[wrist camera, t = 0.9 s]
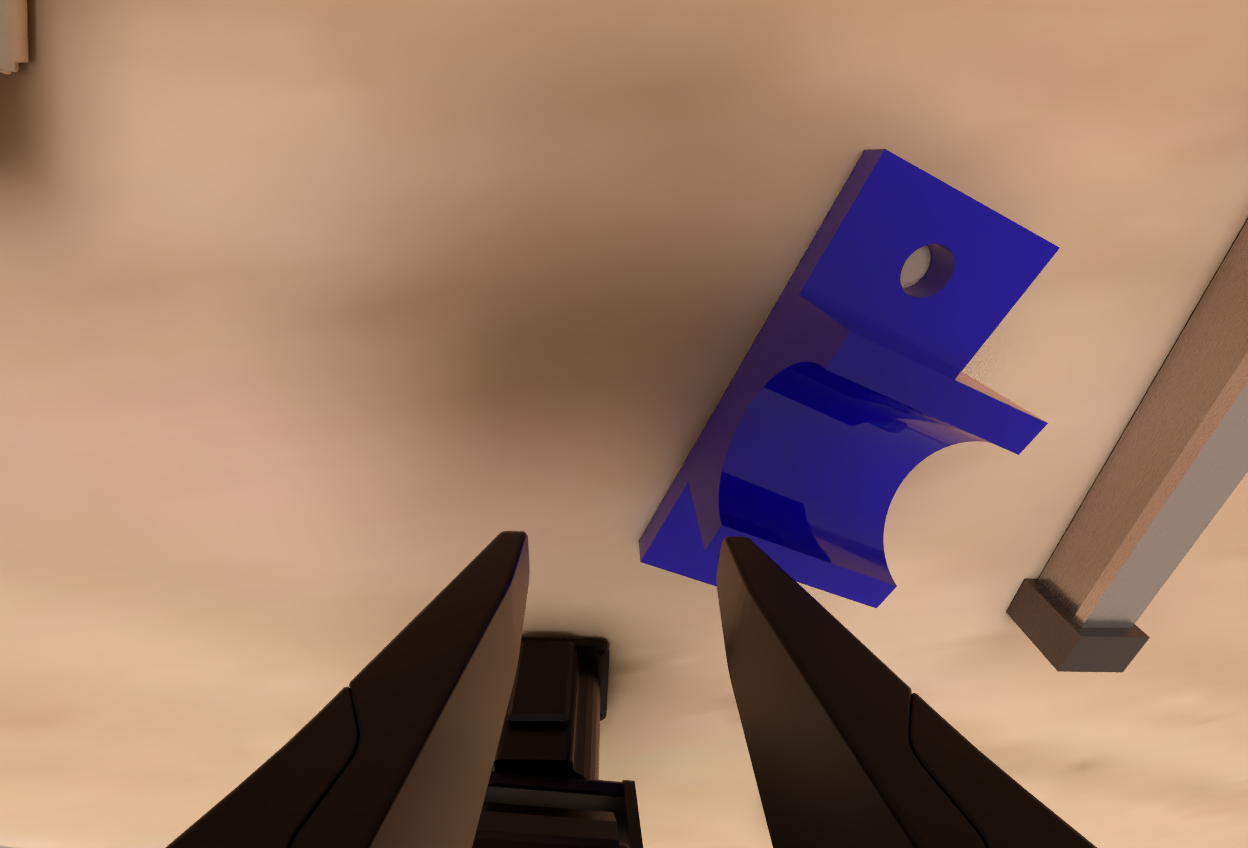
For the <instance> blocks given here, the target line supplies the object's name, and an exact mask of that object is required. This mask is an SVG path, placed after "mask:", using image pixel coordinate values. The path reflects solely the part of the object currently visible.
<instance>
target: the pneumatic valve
mask: <svg viewBox="0 0 1248 848" xmlns="http://www.w3.org/2000/svg"><path fill="white" fill-rule="evenodd" d="M21 62H24V63H27V62H29V61H28V17H27V0H0V72H1V73H4V74H11V72H18V70H19V68H18V63H21Z"/></svg>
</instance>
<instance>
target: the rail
mask: <svg viewBox="0 0 1248 848" xmlns="http://www.w3.org/2000/svg"><path fill="white" fill-rule="evenodd" d="M1247 472H1248V220H1247V222H1246V224H1245V225H1244V227H1243V229H1242V230H1241V232H1240V234H1239V236H1238V237H1237V239H1236V241H1235V242H1234V244H1233V246H1232V248H1231V249H1230V251H1229V253H1228V254H1227V256H1226V258H1225V260H1224V261H1223V263H1222V265H1221V266H1220V268H1219V270H1218V272H1217V273H1216V275H1215V277H1214V278H1213V280H1212V282H1211V284H1210V285H1209V287H1208V289H1207V290H1206V292H1205V294H1204V296H1203V297H1202V299H1201V301H1200V303H1199V304H1198V306H1197V308H1196V309H1195V311H1194V313H1193V315H1192V316H1191V318H1190V320H1189V321H1188V323H1187V325H1186V327H1185V328H1184V330H1183V332H1182V333H1181V335H1180V337H1179V339H1178V340H1177V342H1176V344H1175V345H1174V347H1173V349H1172V351H1171V352H1170V354H1169V356H1168V357H1167V359H1166V361H1165V363H1164V364H1163V366H1162V368H1161V369H1160V371H1159V373H1158V375H1157V376H1156V378H1155V380H1154V382H1153V383H1152V385H1151V387H1150V388H1149V390H1148V392H1147V394H1146V395H1145V397H1144V399H1143V400H1142V402H1141V404H1140V406H1139V407H1138V409H1137V411H1136V412H1135V414H1134V416H1133V418H1132V419H1131V421H1130V423H1129V424H1128V426H1127V428H1126V430H1125V431H1124V433H1123V435H1122V436H1121V438H1120V440H1119V442H1118V443H1117V445H1116V447H1115V448H1114V450H1113V452H1112V454H1111V455H1110V457H1109V459H1108V461H1107V462H1106V464H1105V466H1104V467H1103V469H1102V471H1101V473H1100V474H1099V476H1098V478H1097V479H1096V481H1095V483H1094V485H1093V486H1092V488H1091V490H1090V491H1089V493H1088V495H1087V497H1086V498H1085V500H1084V502H1083V503H1082V505H1081V507H1080V509H1079V510H1078V512H1077V514H1076V515H1075V517H1074V519H1073V521H1072V522H1071V524H1070V526H1069V527H1068V529H1067V531H1066V533H1065V534H1064V536H1063V538H1062V540H1061V541H1060V543H1059V545H1058V546H1057V548H1056V550H1055V552H1054V553H1053V555H1052V557H1051V558H1050V560H1049V562H1048V564H1047V565H1046V567H1045V569H1044V570H1043V572H1042V574H1041V576H1040V577H1039V579H1025V580H1024V582H1023V584H1022V586H1021V587H1020V589H1019V591H1018V593H1017V594H1016V596H1015V598H1014V600H1013V601H1012V603H1011V605H1010V607H1009V608H1008V610H1007V612H1006V613H1007V614H1008V615H1009V616H1010V617H1011V618H1012V619H1013V621H1014V622H1015V623H1016V624H1017V625H1018V626H1019V627H1020V629H1021V630H1022V631H1023V632H1024V633H1025V634H1026V635H1027V637H1028V638H1029V639H1030V640H1031V641H1032V642H1033V643H1034V645H1035V646H1036V647H1037V648H1038V649H1039V650H1040V651H1041V653H1042V654H1043V655H1044V656H1045V657H1046V658H1047V659H1048V661H1049V662H1050V663H1051V664H1052V665H1053V666H1054V667H1055V669H1056V670H1057V671H1071V672H1123V671H1124V670H1125V669H1126V667H1127V666H1128V665H1129V663H1130V662H1131V661H1132V660H1133V658H1134V657H1135V656H1136V654H1137V653H1138V652H1139V651H1140V649H1141V648H1142V647H1143V645H1144V644H1145V643H1146V642H1147V640H1148V639H1149V638H1150V637H1148V636H1147V635H1146V634H1145V633H1144V632H1143V631H1142V630H1141V629H1139V628H1138V627H1137V626H1136V625H1135V622H1136V621H1137V620H1138V618H1139V617H1140V616H1141V614H1142V613H1143V612H1144V610H1145V609H1146V608H1147V606H1148V605H1149V604H1150V602H1151V601H1152V599H1153V598H1154V597H1155V595H1156V594H1157V593H1158V591H1159V590H1160V589H1161V587H1162V586H1163V585H1164V583H1165V582H1166V581H1167V579H1168V578H1169V577H1170V575H1171V574H1172V573H1173V571H1174V570H1175V569H1176V567H1177V566H1178V565H1179V563H1180V562H1181V560H1182V559H1183V558H1184V556H1185V555H1186V554H1187V552H1188V551H1189V550H1190V548H1191V547H1192V546H1193V544H1194V543H1195V542H1196V540H1197V539H1198V538H1199V536H1200V535H1201V534H1202V532H1203V531H1204V530H1205V528H1206V527H1207V526H1208V524H1209V523H1210V522H1211V520H1212V519H1213V517H1214V516H1215V515H1216V513H1217V512H1218V511H1219V509H1220V508H1221V507H1222V505H1223V504H1224V503H1225V501H1226V500H1227V499H1228V497H1229V496H1230V495H1231V493H1232V492H1233V491H1234V489H1235V488H1236V487H1237V485H1238V484H1239V483H1240V481H1241V480H1242V478H1243V477H1244V476H1245V474H1246V473H1247Z"/></svg>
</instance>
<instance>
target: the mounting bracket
mask: <svg viewBox="0 0 1248 848" xmlns="http://www.w3.org/2000/svg"><path fill="white" fill-rule="evenodd" d="M925 245H928V247H929V249H930V252H931V262H930V266H929V268H928V270H927V272H926V274H925V275H924V276H923V277H922V279H921V280H919V281H918V282H917V283H916V284H914V285H912V286H910V287H908V288H904V289H903V288H902V286H901V283H900V274H901V270H902V267H903V265H904V263H905V261H906V260H907V258H908V257H909V256H910V255H911V254H912V253H913V252H914V251H916V250H917V249H919V248H920V247H922V246H925ZM1058 249H1059V247H1057V246H1056V245H1054V244H1052V243H1050V242H1049V241H1047V240H1045V239H1043V238H1041V237H1040V236H1038V235H1036V234H1034V233H1033V232H1031V231H1029V230H1027V229H1026V228H1024V227H1022V226H1020V225H1018V224H1017V223H1015V222H1013V221H1011V220H1010V219H1008V218H1006V217H1004V216H1003V215H1001V214H999V213H997V212H995V211H994V210H992V209H990V208H988V207H987V206H985V205H983V204H981V203H980V202H978V201H976V200H974V199H972V198H971V197H969V196H967V195H965V194H964V193H962V192H960V191H958V190H956V189H955V188H953V187H951V186H949V185H948V184H946V183H944V182H942V181H941V180H939V179H937V178H935V177H933V176H932V175H930V174H928V173H926V172H925V171H923V170H921V169H919V168H918V167H916V166H914V165H912V164H910V163H909V162H907V161H905V160H903V159H902V158H900V157H898V156H896V155H894V154H893V153H891V152H889V151H887V150H886V149H878V150H864V152H863V153H862V155H861V157H860V159H859V160H858V162H857V164H856V166H855V167H854V169H853V171H852V173H851V174H850V176H849V178H848V180H847V181H846V183H845V185H844V186H843V188H842V190H841V192H840V193H839V195H838V197H837V199H836V200H835V202H834V204H833V206H832V207H831V209H830V211H829V212H828V214H827V216H826V218H825V219H824V221H823V223H822V225H821V226H820V228H819V230H818V232H817V233H816V235H815V237H814V239H813V240H812V242H811V244H810V245H809V247H808V249H807V251H806V252H805V254H804V256H803V258H802V259H801V261H800V263H799V265H798V266H797V268H796V270H795V271H794V273H793V275H792V277H791V278H790V280H789V282H788V284H787V285H786V287H785V289H784V291H783V292H782V294H781V296H780V298H779V299H778V301H777V303H776V304H775V306H774V308H773V310H772V311H771V313H770V315H769V317H768V318H767V320H766V322H765V324H764V325H763V327H762V329H761V330H760V332H759V334H758V336H757V337H756V339H755V341H754V343H753V344H752V346H751V348H750V350H749V351H748V353H747V355H746V357H745V358H744V360H743V362H742V363H741V365H740V367H739V369H738V370H737V372H736V374H735V376H734V377H733V379H732V381H731V383H730V384H729V386H728V388H727V389H726V391H725V393H724V395H723V396H722V398H721V400H720V402H719V403H718V405H717V407H716V409H715V410H714V412H713V414H712V416H711V417H710V419H709V421H708V422H707V424H706V426H705V428H704V429H703V431H702V433H701V435H700V436H699V438H698V440H697V442H696V443H695V445H694V447H693V448H692V450H691V452H690V454H689V455H688V457H687V459H686V461H685V462H684V464H683V466H682V468H681V469H680V471H679V473H678V475H677V476H676V478H675V480H674V481H673V483H672V485H671V487H670V488H669V490H668V492H667V494H666V495H665V497H664V499H663V501H662V502H661V504H660V506H659V507H658V509H657V511H656V513H655V514H654V516H653V518H652V520H651V521H650V523H649V525H648V527H647V528H646V530H645V532H644V534H643V535H642V537H641V539H640V540H639V548H640V562H642V563H645V564H649V565H652V566H655V567H658V568H661V569H664V570H667V571H670V572H674V573H677V574H680V575H683V576H686V577H689V578H692V579H695V580H699V581H702V582H705V583H708V584H711V585H714V586H717V581H716V576H717V568H718V562H719V557H720V551H721V546H722V542H723V539H724V538H725V537H727V536H736V537H748V538H749V539H751V540H752V541H753V542H754V543H755V544H756V545H757V546H758V547H759V548H761V549H762V550H763V551H764V552H765V553H766V554H767V555H768V556H769V557H770V558H771V559H772V560H773V561H774V562H776V563H777V564H778V565H779V566H780V567H781V568H782V569H783V570H784V571H785V572H786V573H787V574H788V575H789V576H791V577H792V578H793V579H794V580H795V581H797V582H800V583H803V584H806V585H809V586H812V587H815V588H818V589H821V590H824V591H827V592H830V593H832V594H835V595H838V596H841V597H844V598H847V599H850V600H853V601H856V602H859V603H862V604H865V605H868V606H871V607H874V608H877V607H878V606H879V605H880V604H881V603H882V602H883V601H884V600H885V598H886V597H887V596H888V595H889V594H890V593H891V592H892V591H893V590H894V589H895V588H896V587H897V586H896V584H895V582H894V581H893V579H892V577H891V574H890V572H889V569H888V567H887V563H886V559H885V554H884V545H883V533H884V524H885V519H886V515H887V512H888V508H889V506H890V503H891V500H892V498H893V496H894V494H895V492H896V491H897V489H898V487H899V485H900V484H901V483H902V481H903V480H904V478H905V477H906V476H907V475H908V474H909V472H910V471H911V470H912V469H913V468H914V467H915V466H916V465H918V464H919V463H920V462H921V461H922V460H924V459H925V458H926V457H928V456H929V455H931V454H933V453H934V452H936V451H938V450H940V449H942V448H945V447H947V446H950V445H953V444H957V443H962V442H969V441H982V442H989V443H993V444H995V445H998V446H1000V447H1002V448H1004V449H1007V450H1009V451H1011V452H1014V453H1016V454H1018V455H1019V454H1020V453H1021V452H1022V451H1023V450H1024V449H1025V447H1026V446H1027V445H1028V444H1029V443H1030V442H1031V441H1032V440H1033V439H1034V438H1035V437H1036V436H1037V434H1038V433H1039V432H1040V431H1041V430H1042V429H1043V428H1044V427H1045V426H1046V425H1047V424H1048V423H1047V422H1045V421H1043V420H1042V419H1040V418H1038V417H1037V416H1035V415H1033V414H1032V413H1030V412H1028V411H1027V410H1025V409H1023V408H1022V407H1020V406H1018V405H1017V404H1015V403H1014V402H1012V401H1010V400H1009V399H1007V398H1005V397H1004V396H1002V395H1000V394H999V393H997V392H995V391H994V390H992V389H990V388H989V387H987V386H985V385H984V384H982V383H980V382H979V381H977V380H975V379H974V378H972V377H970V376H969V375H967V374H965V373H964V372H962V370H963V369H964V367H965V366H966V365H967V364H968V362H969V361H970V360H971V359H972V357H973V356H974V355H975V354H976V352H977V351H978V350H979V349H980V347H981V346H982V345H983V344H984V342H985V341H986V340H987V339H988V337H989V336H990V335H991V334H992V332H993V331H994V330H995V329H996V327H997V326H998V325H999V323H1000V322H1001V321H1002V320H1003V318H1004V317H1005V316H1006V315H1007V313H1008V312H1009V311H1010V310H1011V308H1012V307H1013V306H1014V305H1015V303H1016V302H1017V301H1018V300H1019V298H1020V297H1021V296H1022V295H1023V293H1024V292H1025V291H1026V290H1027V288H1028V287H1029V286H1030V285H1031V283H1032V282H1033V281H1034V280H1035V278H1036V277H1037V276H1038V274H1039V273H1040V272H1041V271H1042V269H1043V268H1044V267H1045V266H1046V264H1047V263H1048V262H1049V261H1050V259H1051V258H1052V257H1053V256H1054V254H1055V253H1056V252H1057V251H1058Z"/></svg>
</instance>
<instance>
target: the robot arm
mask: <svg viewBox="0 0 1248 848" xmlns="http://www.w3.org/2000/svg"><path fill="white" fill-rule="evenodd" d="M716 581H717V591H718V598H719V606H720V613H721V620H722V628H723V635H724V642H725V650H726V657H727V663H728V669H729V674H730V679H731V683H732V687H733V691H734V695H735V699H736V703H737V707H738V711H739V715H740V719H741V723H742V727H743V731H744V735H745V739H746V743H747V747H748V750H749V754H750V758H751V762H752V766H753V770H754V774H755V778H756V782H757V786H758V790H759V794H760V798H761V802H762V806H763V810H764V814H765V818H766V821H767V825H768V829H769V833H770V837H771V841H772V845H773V848H1097V847H1096V846H1094V845H1093V844H1092V843H1091V842H1089V841H1088V840H1087V839H1086V838H1084V837H1083V836H1082V835H1081V834H1080V833H1078V832H1077V831H1076V830H1075V829H1073V828H1072V827H1071V826H1070V825H1069V824H1067V823H1066V822H1065V821H1064V820H1062V819H1061V818H1060V817H1059V816H1057V815H1056V814H1055V813H1054V812H1053V811H1051V810H1050V809H1049V808H1048V807H1046V806H1045V805H1044V804H1043V803H1042V802H1040V801H1039V800H1038V799H1037V798H1035V797H1034V796H1033V795H1032V794H1030V793H1029V792H1028V791H1027V790H1026V789H1024V788H1023V787H1022V786H1021V785H1020V784H1018V783H1017V782H1016V781H1015V780H1014V779H1012V778H1011V777H1010V776H1009V775H1008V774H1006V773H1005V772H1004V771H1003V770H1002V769H1001V768H999V767H998V766H997V765H996V764H995V763H993V762H992V761H991V760H990V759H989V758H987V757H986V756H985V755H984V754H983V753H981V752H980V751H979V750H978V749H977V748H976V747H975V746H973V745H972V744H971V743H970V742H969V741H968V740H967V739H966V738H965V737H963V736H962V735H961V734H960V733H959V732H958V731H957V730H956V729H955V728H953V727H952V726H951V725H950V724H949V723H948V722H947V721H946V720H945V719H943V718H942V717H941V716H940V715H939V714H938V713H937V712H936V711H935V710H934V709H933V708H931V707H930V706H929V705H928V704H927V703H926V702H925V701H924V700H923V699H922V698H921V697H920V696H919V695H917V694H916V693H912V691H911V688H910V687H909V686H908V685H906V684H905V683H904V682H903V681H902V680H901V679H900V678H899V677H898V676H897V675H896V674H895V673H894V672H893V671H891V670H890V669H889V668H888V667H887V666H886V665H885V664H884V663H883V662H882V661H881V660H880V659H879V658H878V657H876V656H875V655H874V654H873V653H872V652H871V651H870V650H869V649H868V648H867V647H866V646H865V645H864V644H862V643H861V642H860V641H859V640H858V639H857V638H856V637H855V636H854V635H853V634H852V633H851V632H850V631H849V630H847V629H846V628H845V627H844V626H843V625H842V624H841V623H840V622H839V621H838V620H837V619H836V618H835V617H834V616H832V615H831V614H830V613H829V612H828V611H827V610H826V609H825V608H824V607H823V606H822V605H821V604H820V603H818V602H817V601H816V600H815V599H814V598H813V597H812V596H811V595H810V594H809V593H808V592H807V591H806V590H805V589H803V588H802V587H801V586H800V585H799V584H798V583H797V582H796V581H795V580H794V579H793V578H792V577H791V576H789V575H788V574H787V573H786V572H785V571H784V570H783V569H782V568H781V567H780V566H779V565H778V564H777V563H776V562H774V561H773V560H772V559H771V558H770V557H769V556H768V555H767V554H766V553H765V552H764V551H763V550H762V549H761V548H759V547H758V546H757V545H756V544H755V543H754V542H753V541H752V540H751V539H749V538H748V537H736V536H727V537H725V538H724V539H723V542H722V546H721V551H720V557H719V562H718V568H717V576H716ZM528 584H529V550H528V536H527V534H526V533H525V532H523V531H503V532H502V533H500V534H499V535H498V536H497V537H496V538H495V539H494V540H493V541H492V542H491V543H490V544H489V545H488V546H487V547H486V548H485V549H484V550H483V551H482V552H481V553H480V554H479V555H478V556H477V557H476V558H475V559H474V560H473V561H472V562H471V563H470V564H469V565H468V566H467V567H466V568H465V569H464V570H463V571H462V572H461V573H460V574H459V575H458V576H457V577H456V578H455V579H454V580H453V581H452V582H451V583H450V584H449V585H448V586H447V587H446V588H445V589H443V590H442V591H441V592H440V593H439V594H438V595H437V596H436V597H435V598H434V599H433V600H432V601H431V602H430V603H429V604H428V605H427V606H426V607H425V608H424V609H423V610H422V611H421V612H420V613H419V614H418V615H417V616H416V617H415V618H414V619H413V620H412V621H411V622H410V623H409V624H408V625H407V626H406V627H405V628H404V629H403V630H402V631H401V632H400V633H399V634H398V635H397V636H396V637H395V638H394V639H393V640H392V641H391V642H390V643H389V644H388V645H387V646H386V647H385V648H384V649H383V650H382V651H381V652H380V653H379V654H378V655H377V656H376V657H375V658H374V659H373V660H372V661H371V662H370V663H369V664H368V665H367V666H366V667H365V668H364V669H363V670H362V671H361V672H360V673H359V674H358V675H357V676H356V677H355V678H354V679H353V680H352V681H351V682H350V683H349V687H350V688H349V687H345V688H343V689H342V690H341V691H340V692H339V693H338V694H337V695H336V696H335V697H334V698H333V699H332V700H331V701H330V702H329V703H328V704H327V705H326V706H325V707H324V708H323V709H322V710H321V711H320V712H319V713H318V714H317V715H316V716H315V717H314V718H313V719H312V720H310V721H309V722H308V723H307V724H306V725H305V726H304V727H303V728H302V729H301V730H300V731H299V732H298V733H297V734H296V735H295V736H294V737H293V738H292V739H290V740H289V741H288V742H287V743H286V744H285V745H284V746H283V747H282V748H281V749H280V750H278V751H277V752H276V753H275V754H274V755H273V756H272V757H271V758H269V759H268V760H267V761H266V762H265V763H264V764H263V765H261V766H260V767H259V768H258V769H257V770H256V771H255V772H253V773H252V774H251V775H250V776H249V777H248V778H247V779H246V780H244V781H243V782H242V783H241V784H240V785H239V786H238V787H236V788H235V789H234V790H233V791H232V792H231V793H229V794H228V795H227V796H226V797H225V798H223V799H222V800H221V801H220V802H219V803H218V804H216V805H215V806H214V807H213V808H212V809H210V810H209V811H208V812H207V813H206V814H205V815H203V816H202V817H201V818H200V819H199V820H198V821H196V822H195V823H194V824H193V825H192V826H190V827H189V828H188V829H187V830H186V831H185V832H183V833H182V834H181V835H180V836H179V837H178V838H176V839H175V840H174V841H173V842H172V843H170V844H169V845H168V846H167V847H166V848H643V843H642V836H641V828H640V820H639V812H638V804H637V797H636V789H635V782H634V781H630V780H623V781H622V782H614V781H603V780H599V736H600V720H603V719H605V718H606V711H607V691H608V671H609V643H608V642H607V641H605V640H601V639H536V638H521V637H522V630H523V622H524V615H525V607H526V599H527V592H528ZM911 693H912V694H911Z"/></svg>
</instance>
